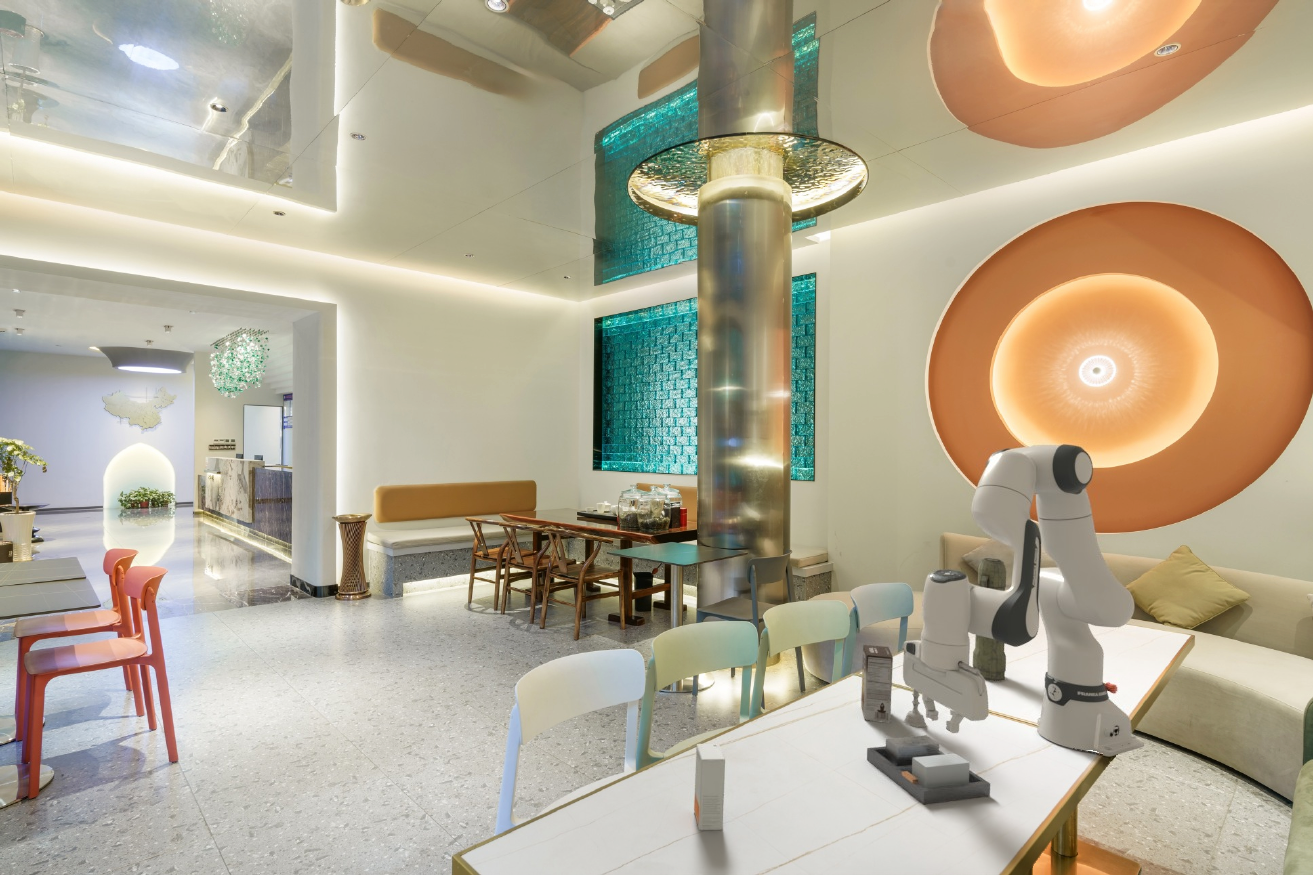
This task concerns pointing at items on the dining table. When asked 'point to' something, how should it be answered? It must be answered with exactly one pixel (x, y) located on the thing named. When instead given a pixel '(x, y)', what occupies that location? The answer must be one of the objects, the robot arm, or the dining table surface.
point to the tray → (899, 768)
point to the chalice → (914, 711)
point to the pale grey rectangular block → (940, 770)
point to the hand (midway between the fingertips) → (942, 725)
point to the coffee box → (876, 683)
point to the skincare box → (709, 786)
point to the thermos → (987, 650)
